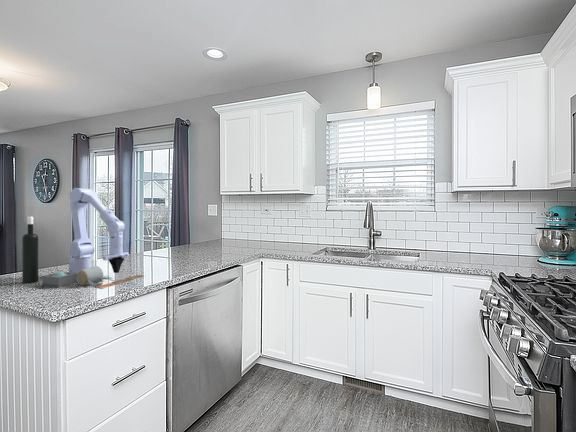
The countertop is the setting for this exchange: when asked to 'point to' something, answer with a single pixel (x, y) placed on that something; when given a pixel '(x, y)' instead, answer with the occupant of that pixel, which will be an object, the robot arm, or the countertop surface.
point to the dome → (59, 274)
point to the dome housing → (59, 280)
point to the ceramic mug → (90, 276)
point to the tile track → (119, 281)
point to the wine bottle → (30, 255)
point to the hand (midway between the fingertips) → (116, 272)
